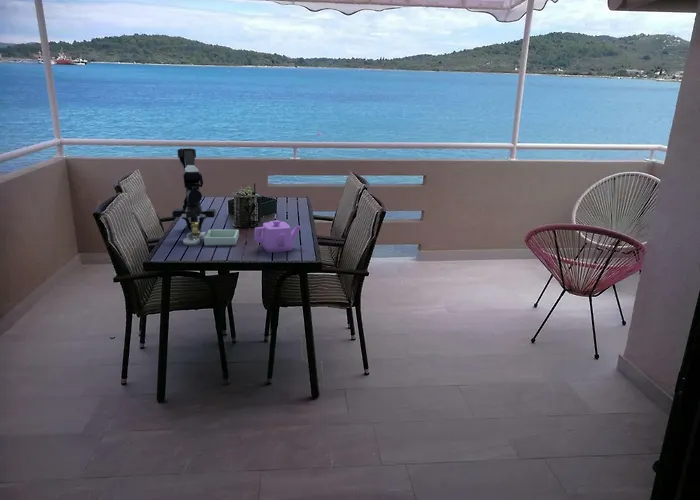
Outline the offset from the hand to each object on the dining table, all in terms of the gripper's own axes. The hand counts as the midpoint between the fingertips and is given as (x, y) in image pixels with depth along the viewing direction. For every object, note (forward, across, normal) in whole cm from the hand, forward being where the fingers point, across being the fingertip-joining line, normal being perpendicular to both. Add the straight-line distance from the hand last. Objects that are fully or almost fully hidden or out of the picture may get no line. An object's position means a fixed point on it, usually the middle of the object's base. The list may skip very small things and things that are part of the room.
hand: (195, 231), depth 233 cm
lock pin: (+2, 0, 0) cm, 2 cm away
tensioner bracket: (+3, 0, -5) cm, 6 cm away
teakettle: (+3, +39, -16) cm, 42 cm away
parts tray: (+3, +13, -6) cm, 15 cm away
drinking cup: (+3, +25, +32) cm, 41 cm away
